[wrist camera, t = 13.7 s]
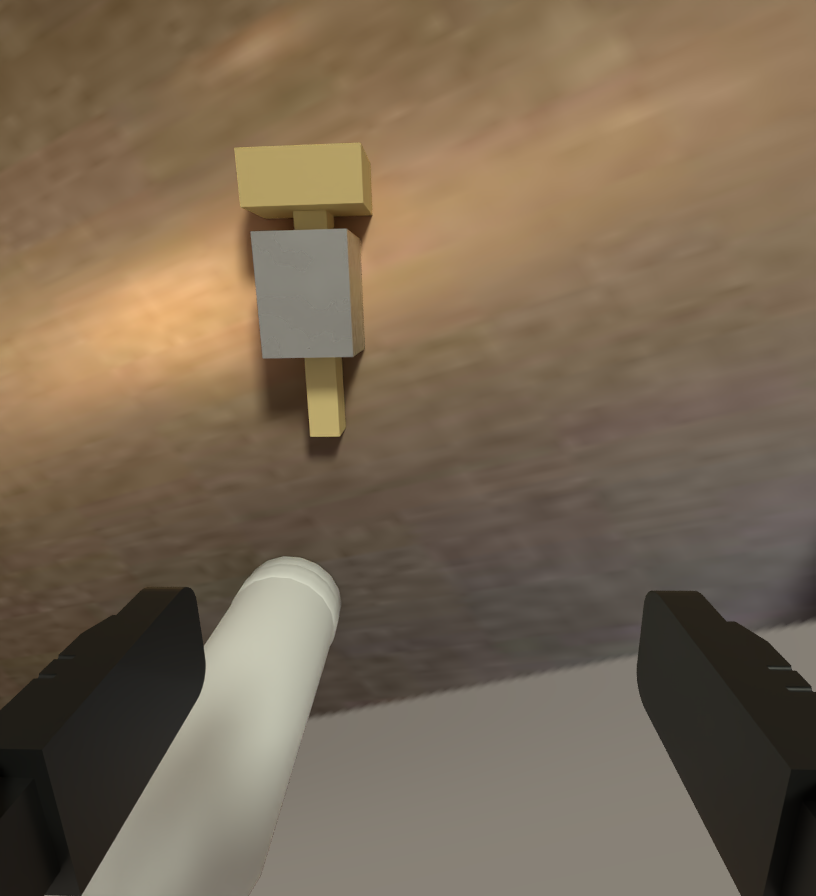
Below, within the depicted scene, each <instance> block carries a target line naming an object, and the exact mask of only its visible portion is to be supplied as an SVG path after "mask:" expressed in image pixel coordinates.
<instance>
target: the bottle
mask: <svg viewBox="0 0 816 896" xmlns="http://www.w3.org/2000/svg"><path fill="white" fill-rule="evenodd" d="M340 609H341V599H340V593H339V589H338V587H337V585H336V584H335V582H334V580H333V579H332V577H331V575H329V574H328V573H327V572H326V571H325V570H324V569H322V568H321V567H320V566H319V565H318V564H315V563H313V562H310V561H308V560H306V559H303V558H298V557H285V556H283V557H280V558H276V559H272V560H268V561H266V562H265V563H263V564H262V565H261V566H259V567H258V568H256V569H255V570H254V572H253V573H252V575H251V576H250V577H248V578H247V580H246V581H245V582H244V584H243V585H242V587H241V589H240V590H239V592H238V593H237V595H236V596H235V598H234V600H233V601H232V605H231V606H230V608H229V609H228V611H227V612H226V614H225V615H224V617H223V618H222V620H221V621H220V623H219V624H218V626H217V627H216V629H215V630H214V632H213V633H212V635H211V636H210V638H209V639H208V641H207V642H206V644H205V645H204V653H205V660H206V672H205V679H204V684H203V687H202V690H201V693H200V695H199V698H198V699H197V701H196V703H195V705H194V706H193V708H192V710H191V711H190V713H189V715H188V716H187V718H186V720H185V722H184V723H183V725H182V727H181V728H180V730H179V732H178V733H177V735H176V737H175V738H174V740H173V742H172V744H171V745H170V747H169V749H168V750H167V752H166V754H165V755H164V757H163V759H162V760H161V762H160V764H159V766H158V767H157V769H156V771H155V772H154V774H153V776H152V777H151V779H150V781H149V782H148V784H147V786H146V788H145V789H144V791H143V793H142V794H141V796H140V798H139V799H138V801H137V803H136V804H135V806H134V808H133V810H132V811H131V813H130V815H129V816H128V818H127V820H126V821H125V823H124V825H123V826H122V828H121V830H120V831H119V833H118V835H117V837H116V838H115V840H114V842H113V843H112V845H111V847H110V848H109V850H108V852H107V853H106V855H105V857H104V859H103V860H102V862H101V864H100V865H99V867H98V869H97V870H96V872H95V874H94V875H93V877H92V879H91V881H90V882H89V884H88V886H87V887H86V889H85V891H84V892H83V894H82V896H249V894H250V893H251V891H252V889H253V888H254V886H255V884H256V883H257V881H258V880H259V878H260V876H261V873H262V870H263V867H264V863H265V860H266V857H267V853H268V850H269V846H270V843H271V840H272V837H273V834H274V830H275V827H276V824H277V820H278V817H279V814H280V810H281V807H282V804H283V800H284V797H285V793H286V790H287V787H288V784H289V780H290V777H291V774H292V770H293V767H294V764H295V760H296V757H297V754H298V750H299V747H300V744H301V741H302V737H303V734H304V730H305V727H306V724H307V721H308V717H309V714H310V711H311V707H312V704H313V701H314V697H315V694H316V691H317V687H318V684H319V681H320V677H321V674H322V671H323V667H324V664H325V661H326V657H327V654H328V651H329V648H330V645H331V643H332V642H333V639H334V636H335V632H336V628H337V623H338V619H339V613H340Z"/></svg>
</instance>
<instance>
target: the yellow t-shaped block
mask: <svg viewBox="0 0 816 896" xmlns="http://www.w3.org/2000/svg"><path fill="white" fill-rule="evenodd" d="M234 150H235V159H236V169H237V179H238V189H239V199H240V207H241V208H244V209H246V210H248V211H250V212H252V213H254V214H256V215H258V216H260V217H262V218H265V219H273V218H294V230H316V229H334V217H335V216H365V215H372V193H371V167H370V162H369V159H368V157H367V155H366V153H365V151H364V149H363V147H362V144H361V143H339V144H314V145H289V146H264V147H239V148H234ZM304 360H305V373H306V386H307V399H308V412H309V426H310V437H339V436H340V435H341V434H342V433H343V431H344V430H345V428H346V422H345V404H344V387H343V369H342V357H319V358H304Z"/></svg>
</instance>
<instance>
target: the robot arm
mask: <svg viewBox="0 0 816 896" xmlns="http://www.w3.org/2000/svg"><path fill="white" fill-rule="evenodd" d="M205 672H206V660H205V653H204V646H203V640H202V633H201V627H200V620H199V613H198V607H197V600H196V596H195V593H194V592H193V590H192V589H191V588H189V587H146V588H144V589H142V590H141V591H140V592H139V593H138V594H137V595H136V596H135V597H134V598H133V599H132V600H131V601H130V602H129V603H128V604H127V605H126V606H125V607H124V608H123V609H122V610H121V611H120V612H119V613H118V614H117V615H112V616H110V617H108V618H107V619H105V620H103V621H102V622H100V623H98V624H97V625H95V626H93V627H91V628H90V629H88V630H86V631H85V632H83V633H81V634H80V635H79V636H78V637H77V638H76V639H75V640H74V641H73V642H72V643H71V644H70V645H69V646H68V647H67V648H66V649H65V650H64V651H62V652H61V653H60V654H59V658H58V659H54V660H53V661H52V662H51V663H50V664H49V665H48V666H47V667H46V668H45V669H43V670H42V671H41V672H40V673H39V677H38V679H33V680H32V681H31V682H30V683H29V684H28V685H27V686H26V687H24V688H23V689H22V690H21V691H20V692H19V693H18V694H17V695H16V696H15V697H14V698H13V699H12V700H11V701H10V702H9V703H8V704H7V705H5V706H4V707H3V708H2V709H1V710H0V896H44V895H60V896H82V894H83V892H84V891H85V889H86V887H87V886H88V884H89V882H90V881H91V879H92V877H93V875H94V874H95V872H96V870H97V869H98V867H99V865H100V864H101V862H102V860H103V859H104V857H105V855H106V853H107V852H108V850H109V848H110V847H111V845H112V843H113V842H114V840H115V838H116V837H117V835H118V833H119V831H120V830H121V828H122V826H123V825H124V823H125V821H126V820H127V818H128V816H129V815H130V813H131V811H132V810H133V808H134V806H135V804H136V803H137V801H138V799H139V798H140V796H141V794H142V793H143V791H144V789H145V788H146V786H147V784H148V782H149V781H150V779H151V777H152V776H153V774H154V772H155V771H156V769H157V767H158V766H159V764H160V762H161V760H162V759H163V757H164V755H165V754H166V752H167V750H168V749H169V747H170V745H171V744H172V742H173V740H174V738H175V737H176V735H177V733H178V732H179V730H180V728H181V727H182V725H183V723H184V722H185V720H186V718H187V716H188V715H189V713H190V711H191V710H192V708H193V706H194V705H195V703H196V701H197V699H198V698H199V695H200V693H201V690H202V687H203V684H204V679H205ZM637 683H638V689H639V693H640V697H641V700H642V703H643V706H644V708H645V710H646V712H647V714H648V716H649V718H650V720H651V722H652V724H653V726H654V727H655V729H656V731H657V733H658V735H659V737H660V739H661V741H662V743H663V745H664V747H665V748H666V751H667V752H668V754H669V757H670V759H671V760H672V762H673V764H674V766H675V768H676V770H677V772H678V774H679V776H680V778H681V780H682V782H683V784H684V786H685V787H686V790H687V791H688V793H689V795H690V797H691V799H692V801H693V803H694V805H695V807H696V809H697V811H698V813H699V815H700V817H701V819H702V820H703V823H704V825H705V827H706V828H707V830H708V832H709V834H710V836H711V838H712V840H713V842H714V844H715V846H716V848H717V850H718V852H719V854H720V856H721V858H722V859H723V861H724V863H725V865H726V867H727V869H728V871H729V873H730V875H731V877H732V879H733V881H734V883H735V885H736V887H737V889H738V891H739V892H740V894H741V896H816V692H813V691H812V688H811V686H810V685H809V684H808V683H807V681H806V680H805V679H803V677H802V676H801V675H800V674H799V673H798V672H797V671H792V669H791V665H790V664H789V663H788V662H787V661H786V660H785V659H784V658H783V657H782V656H781V655H780V654H779V653H778V652H777V651H776V650H775V649H774V648H773V647H772V646H771V644H770V643H768V642H767V641H766V640H764V639H763V638H761V637H759V636H758V635H756V634H755V633H753V632H751V631H750V630H748V629H746V628H745V627H743V626H742V625H740V624H738V623H737V622H726V620H725V619H724V618H723V617H722V616H721V615H720V614H719V613H718V612H717V611H716V609H715V608H714V607H713V606H712V605H711V604H710V603H709V602H708V601H707V600H706V598H705V597H704V596H703V595H702V594H701V593H699V592H697V591H650V592H648V594H647V595H646V598H645V601H644V608H643V617H642V626H641V635H640V643H639V652H638V661H637Z"/></svg>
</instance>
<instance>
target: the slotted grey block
mask: <svg viewBox="0 0 816 896" xmlns="http://www.w3.org/2000/svg"><path fill="white" fill-rule="evenodd" d="M250 232H251V243H252V253H253V263H254V274H255V284H256V295H257V305H258V315H259V326H260V336H261V346H262V357H263V358H319V357H354V356H355V355H357V354H358V353H359V352H361V351H362V350H364V349H365V336H364V313H363V290H362V267H361V244H360V239H359V238H358V237H357V236H355V235H354V234H353V233H352V232H350V231H349V230H348V229H316V230H282V231H250Z"/></svg>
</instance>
